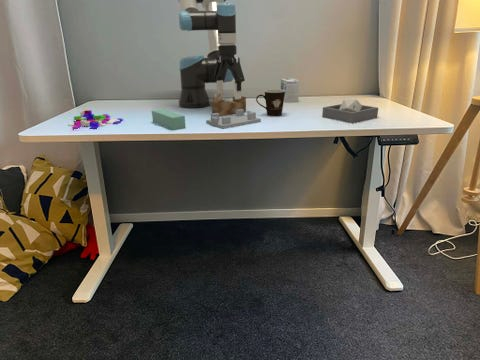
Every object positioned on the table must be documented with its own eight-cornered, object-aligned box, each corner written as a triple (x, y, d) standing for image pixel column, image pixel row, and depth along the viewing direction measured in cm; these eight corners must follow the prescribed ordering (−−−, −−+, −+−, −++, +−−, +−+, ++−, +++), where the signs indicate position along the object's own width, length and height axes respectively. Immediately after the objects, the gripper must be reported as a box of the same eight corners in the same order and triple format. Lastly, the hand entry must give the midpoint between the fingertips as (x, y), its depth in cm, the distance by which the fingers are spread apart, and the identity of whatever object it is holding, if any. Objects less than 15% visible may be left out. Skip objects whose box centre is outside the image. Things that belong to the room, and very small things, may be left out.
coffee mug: (285, 113, 160) (286, 89, 156) (282, 117, 152) (283, 92, 148) (260, 112, 163) (260, 89, 159) (255, 116, 155) (255, 92, 151)
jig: (222, 129, 135) (221, 119, 134) (205, 123, 144) (205, 114, 143) (261, 121, 145) (261, 112, 144) (243, 116, 154) (243, 108, 153)
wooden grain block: (217, 117, 155) (216, 95, 151) (212, 115, 158) (211, 93, 155) (246, 112, 163) (245, 91, 159) (240, 111, 166) (239, 90, 163)
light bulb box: (280, 99, 192) (280, 78, 188) (292, 98, 193) (293, 77, 189) (286, 102, 183) (286, 80, 178) (298, 102, 184) (299, 80, 180)
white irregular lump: (335, 119, 149) (347, 103, 141) (335, 105, 154) (347, 89, 146) (353, 126, 150) (366, 110, 142) (353, 112, 155) (365, 96, 147)
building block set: (115, 130, 139) (113, 118, 138) (60, 132, 138) (57, 120, 136) (128, 116, 162) (126, 106, 161) (80, 117, 161) (78, 107, 159)
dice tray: (322, 116, 151) (322, 107, 149) (347, 111, 159) (348, 102, 158) (351, 123, 140) (352, 113, 138) (377, 117, 148) (378, 107, 147)
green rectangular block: (153, 122, 148) (151, 110, 146) (164, 120, 151) (163, 108, 149) (173, 131, 135) (172, 117, 133) (185, 129, 138) (184, 115, 136)
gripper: (204, 45, 157) (206, 95, 165) (237, 44, 138) (238, 101, 146) (218, 44, 161) (220, 93, 169) (252, 44, 142) (253, 99, 150)
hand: (228, 97), depth 157 cm, fingers open, 13 cm apart
